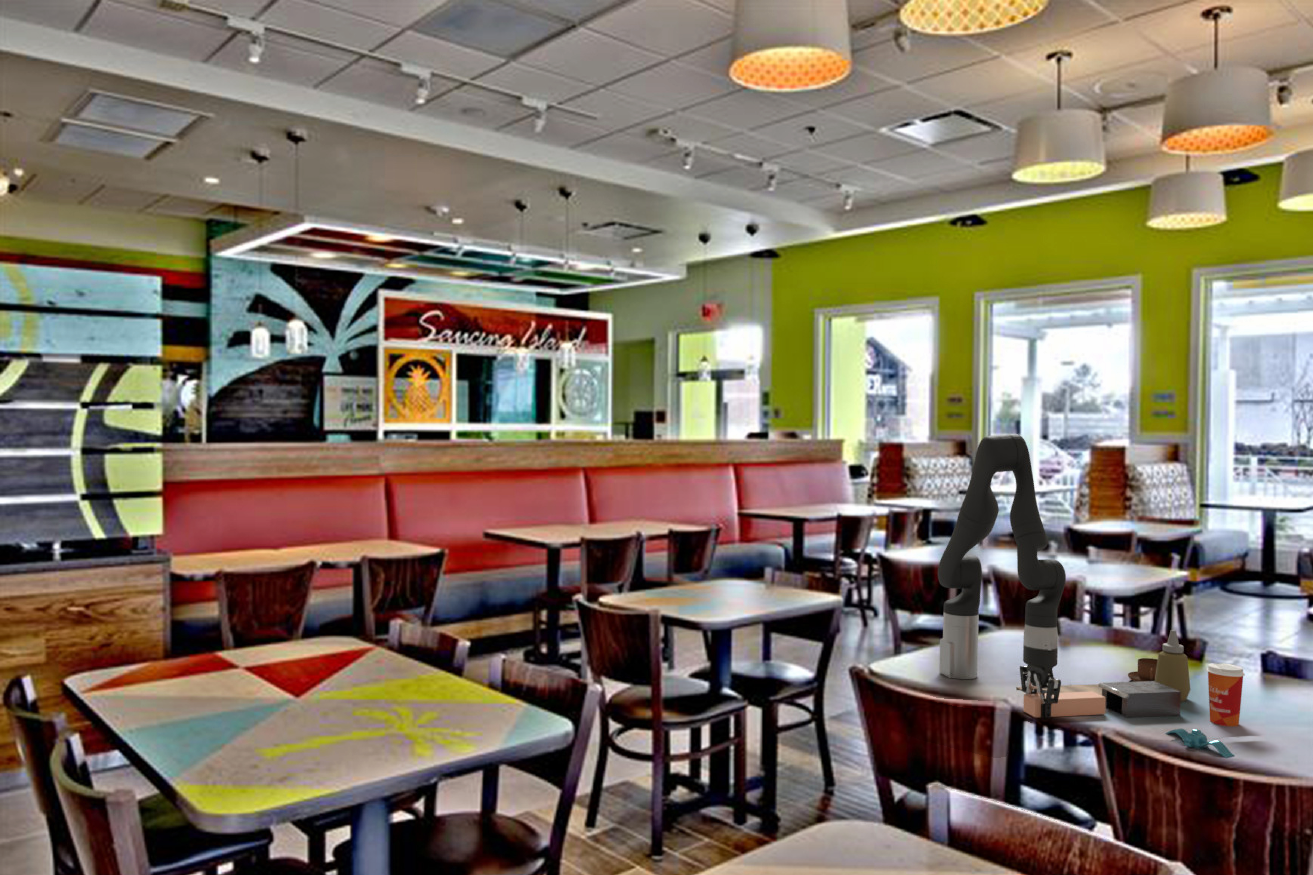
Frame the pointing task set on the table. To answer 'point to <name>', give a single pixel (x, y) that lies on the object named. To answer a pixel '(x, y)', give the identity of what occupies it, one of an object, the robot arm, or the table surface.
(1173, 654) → the squeeze bottle
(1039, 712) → the block
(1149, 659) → the cup and saucer
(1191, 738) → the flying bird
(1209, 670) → the paper cup
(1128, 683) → the dispenser
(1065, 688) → the board
